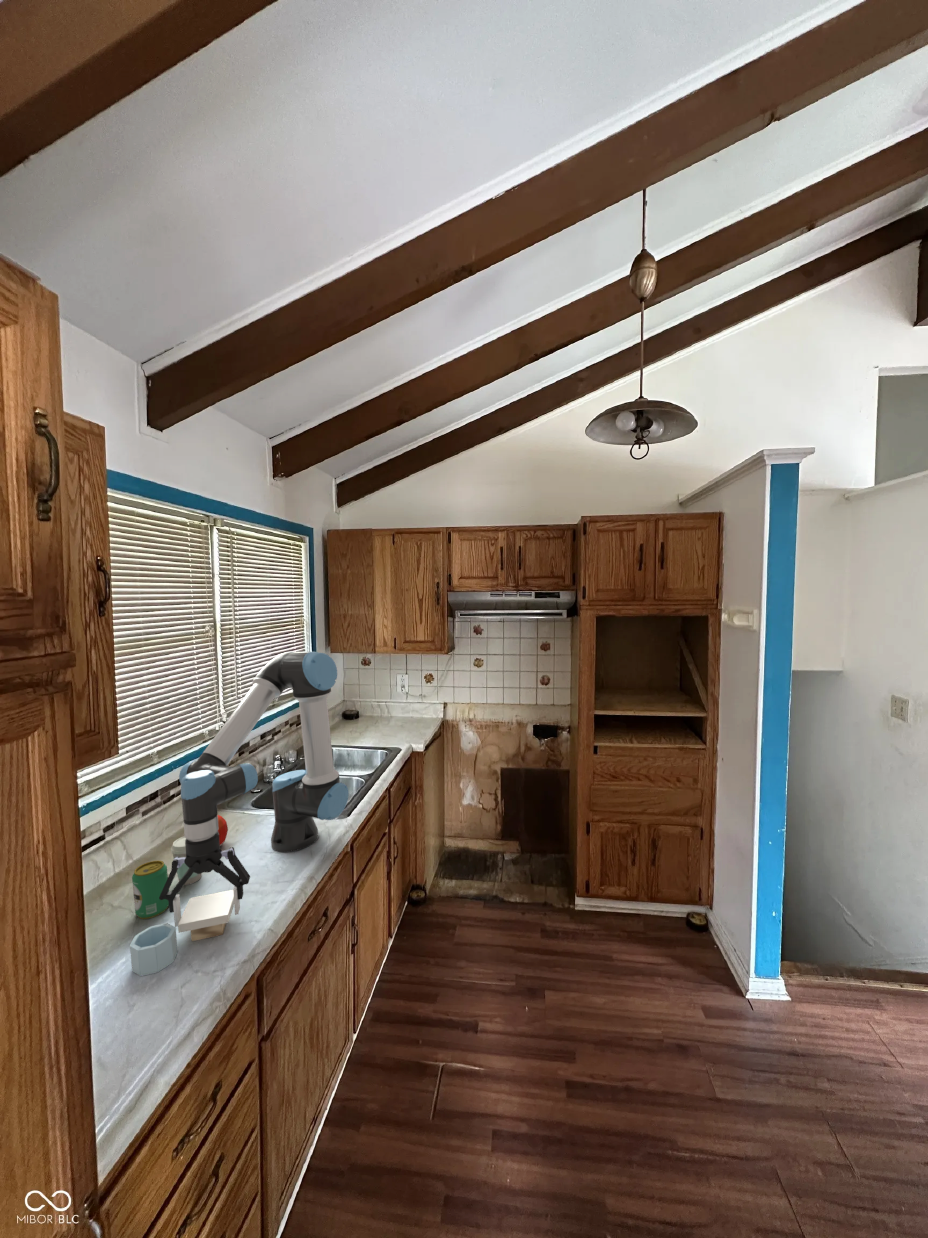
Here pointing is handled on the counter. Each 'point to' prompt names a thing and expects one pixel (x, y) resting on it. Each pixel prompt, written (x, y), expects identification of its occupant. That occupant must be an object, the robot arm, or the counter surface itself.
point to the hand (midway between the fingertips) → (208, 917)
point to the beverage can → (149, 889)
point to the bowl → (153, 949)
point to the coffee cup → (180, 851)
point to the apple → (222, 829)
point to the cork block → (207, 932)
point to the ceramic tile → (207, 911)
